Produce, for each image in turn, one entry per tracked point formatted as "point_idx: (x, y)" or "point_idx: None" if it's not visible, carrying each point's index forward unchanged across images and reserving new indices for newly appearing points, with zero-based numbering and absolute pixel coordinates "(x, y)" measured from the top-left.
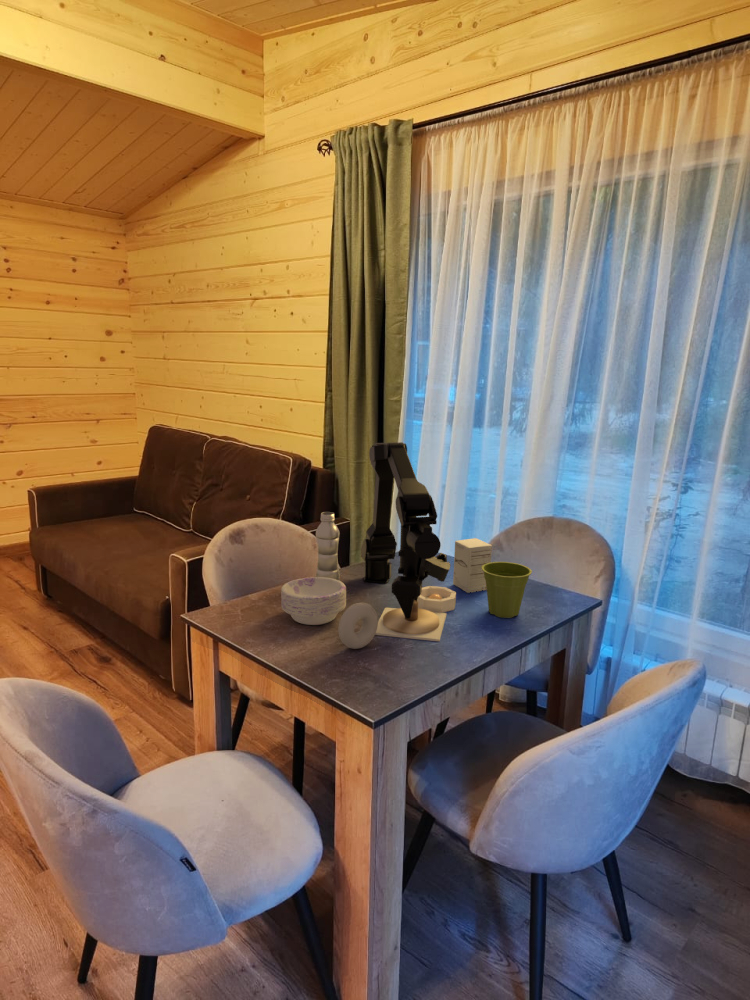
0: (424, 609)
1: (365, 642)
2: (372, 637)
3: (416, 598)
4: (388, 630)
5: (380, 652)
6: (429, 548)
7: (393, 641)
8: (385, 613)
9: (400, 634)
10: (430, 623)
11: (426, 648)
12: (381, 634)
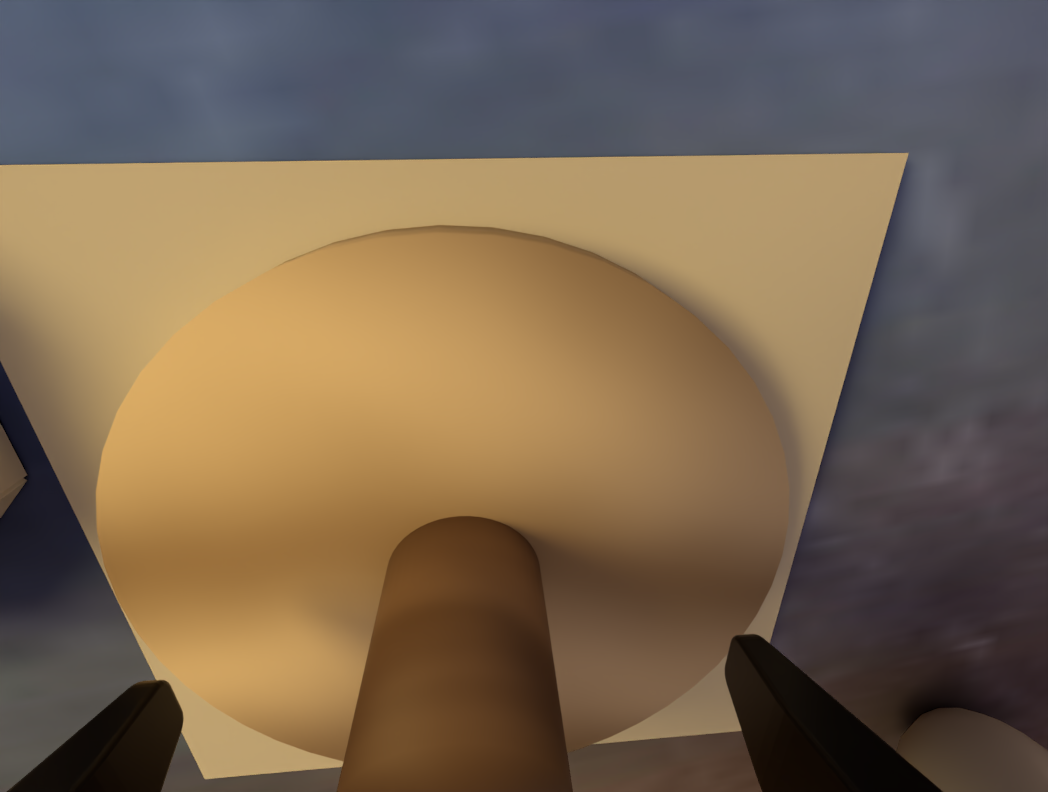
0: (4, 490)
1: (1032, 743)
2: (1007, 742)
3: (112, 763)
4: None
5: (1041, 605)
6: None
7: (856, 574)
8: None
9: None
10: (556, 347)
11: (1043, 280)
12: None
